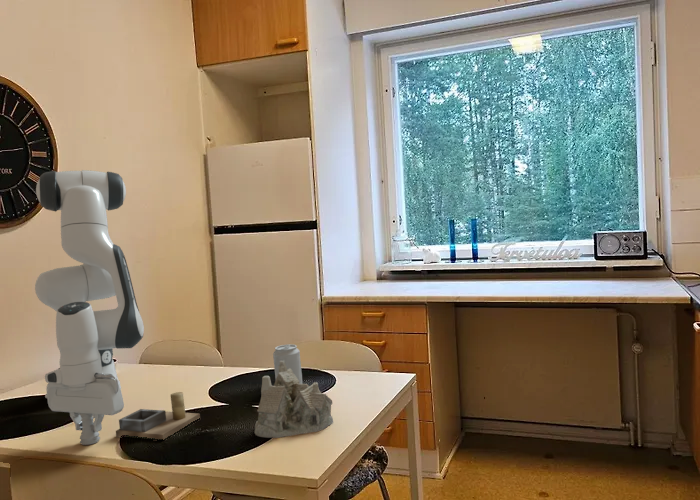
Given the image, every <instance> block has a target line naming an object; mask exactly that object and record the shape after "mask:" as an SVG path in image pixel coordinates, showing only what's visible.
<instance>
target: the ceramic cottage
mask: <svg viewBox="0 0 700 500" xmlns="http://www.w3.org/2000/svg"><path fill="white" fill-rule="evenodd" d="M279 363H280V366H279V373H278V376H277V378H276V379H275V381H274V385H272V381H271V377H270V376H269V375H264V376H262V377H261V378H262V379H261V388H260V392H261V393H260V394H261V397H260V401H259V404H258V406H257V407H258V409H256V412H257V413H258V416H257V419H258V420H256V421H255V425H254V427H255V428H254V434H255V436H257V437H260V438H269V439H271V438H272V439H273V438H276V439H278V438H285V437H290V436H298V435H303V434H309V433H316V432H319V431H323V430H325V429H326V428H328V426H331V425H332V424H333V423H334V419H333V415H331V414H332V412H331V411H332V405H333V400H332V399H331V398H330V397H329V396H328V395H327V394H326V393H323V392H321V390H320V389H319V383H318V382H317V381H315V382H313V383H312V384H310V385H309V384H308V383H303V384H299V380H298V379H297V377H296V376H295V375H294V373H293V371H292V369H288V370H287V367H286V364H285V362H284V361H279Z"/></svg>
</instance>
